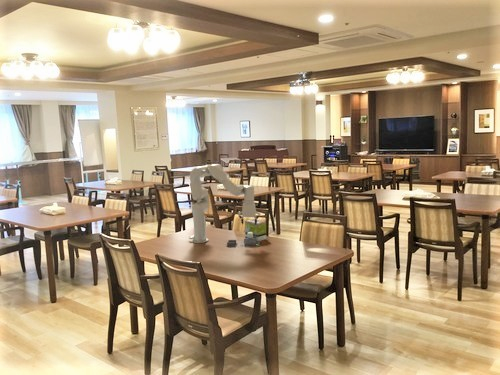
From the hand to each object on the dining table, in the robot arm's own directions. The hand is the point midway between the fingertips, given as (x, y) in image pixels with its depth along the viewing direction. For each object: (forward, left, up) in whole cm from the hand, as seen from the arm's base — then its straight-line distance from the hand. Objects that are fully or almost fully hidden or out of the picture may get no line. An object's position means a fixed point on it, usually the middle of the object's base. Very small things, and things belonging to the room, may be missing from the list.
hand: (249, 224), depth 335 cm
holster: (-13, -3, -16) cm, 21 cm away
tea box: (+4, +18, -16) cm, 24 cm away
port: (+1, 0, -16) cm, 16 cm away
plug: (+1, 0, -15) cm, 15 cm away
